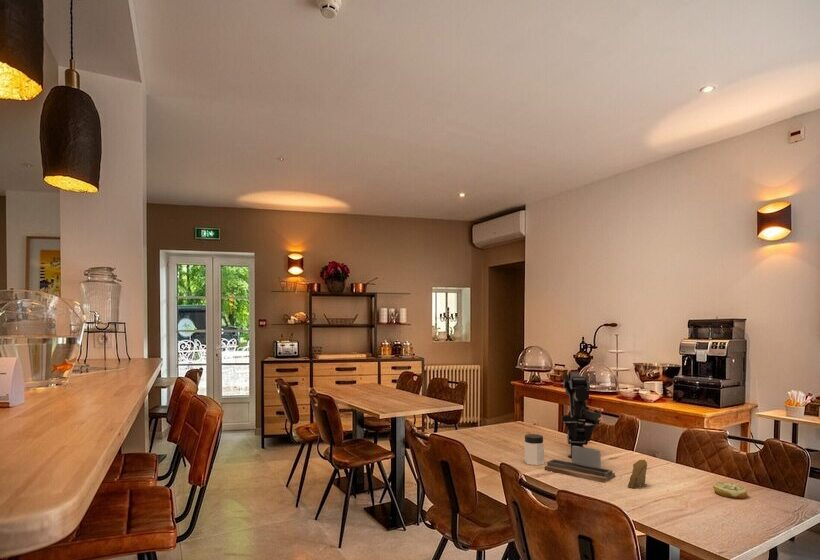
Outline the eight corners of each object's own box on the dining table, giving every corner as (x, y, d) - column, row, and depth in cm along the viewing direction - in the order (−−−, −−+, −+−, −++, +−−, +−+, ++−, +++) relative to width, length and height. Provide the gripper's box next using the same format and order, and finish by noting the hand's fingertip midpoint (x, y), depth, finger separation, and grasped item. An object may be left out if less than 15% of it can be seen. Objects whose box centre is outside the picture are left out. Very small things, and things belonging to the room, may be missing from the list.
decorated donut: (739, 502, 185) (738, 491, 186) (708, 493, 194) (707, 483, 195) (752, 496, 191) (752, 485, 192) (721, 488, 200) (721, 478, 200)
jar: (534, 466, 229) (533, 438, 230) (520, 462, 236) (520, 435, 237) (548, 463, 234) (547, 436, 235) (534, 459, 241) (534, 433, 242)
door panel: (574, 463, 234) (574, 445, 235) (600, 468, 226) (600, 450, 227) (572, 464, 233) (571, 446, 233) (598, 470, 225) (598, 451, 225)
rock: (635, 485, 196) (657, 479, 199) (623, 463, 202) (645, 458, 204) (623, 495, 204) (644, 489, 207) (611, 474, 210) (632, 468, 212)
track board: (556, 464, 232) (556, 458, 232) (614, 476, 215) (614, 469, 215) (544, 470, 224) (544, 463, 224) (604, 482, 206) (604, 474, 207)
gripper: (581, 400, 223) (583, 438, 218) (608, 405, 232) (611, 441, 227) (560, 402, 232) (562, 439, 226) (587, 406, 241) (589, 442, 236)
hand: (581, 440), depth 229 cm, fingers open, 9 cm apart
